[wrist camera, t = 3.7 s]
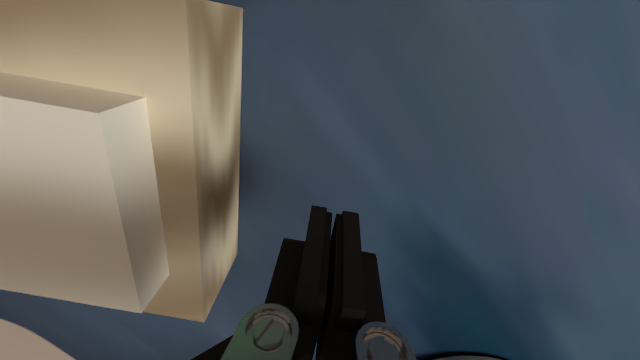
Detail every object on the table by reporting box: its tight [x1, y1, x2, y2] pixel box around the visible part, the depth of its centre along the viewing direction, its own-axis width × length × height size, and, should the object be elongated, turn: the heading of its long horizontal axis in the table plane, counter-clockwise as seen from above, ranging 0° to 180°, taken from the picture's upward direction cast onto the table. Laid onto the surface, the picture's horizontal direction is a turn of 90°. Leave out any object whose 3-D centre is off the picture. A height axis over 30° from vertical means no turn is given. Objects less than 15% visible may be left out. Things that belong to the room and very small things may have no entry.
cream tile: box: [0, 72, 169, 313], centre depth 10 cm, size 8×7×2 cm
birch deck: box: [0, 0, 243, 322], centre depth 13 cm, size 14×13×5 cm
